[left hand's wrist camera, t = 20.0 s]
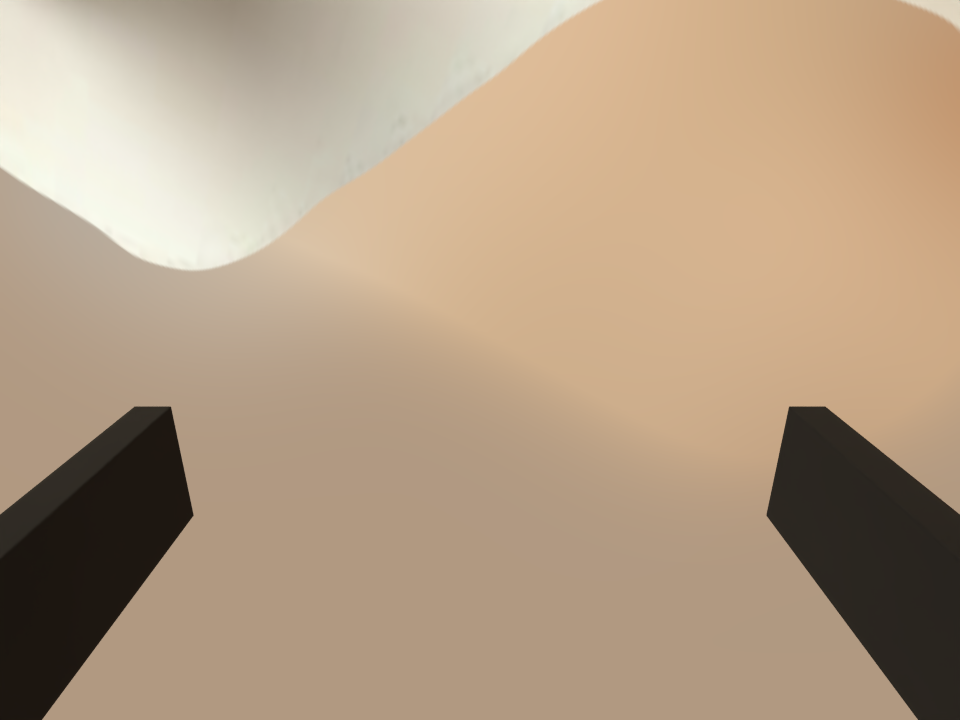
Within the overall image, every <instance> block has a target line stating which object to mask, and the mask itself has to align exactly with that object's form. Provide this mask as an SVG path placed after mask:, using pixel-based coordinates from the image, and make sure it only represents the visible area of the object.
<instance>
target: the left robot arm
mask: <svg viewBox="0 0 960 720" xmlns="http://www.w3.org/2000/svg"><path fill="white" fill-rule="evenodd" d="M192 517H193V511H192V506H191V501H190V496H189V492H188V487H187V482H186V477H185V472H184V467H183V463H182V458H181V453H180V448H179V443H178V439H177V434H176V429H175V425H174V420H173V415H172V410H171V407H134V408H133V409H131V410H130V411H129V412H127V413H126V414H125V415H124V416H122V417H121V418H120V419H119V420H117V421H116V422H115V423H114V424H113V425H111V426H110V427H109V428H108V429H106V430H105V431H104V432H103V433H101V434H100V435H99V436H98V437H96V438H95V439H94V440H93V441H91V442H90V443H89V444H88V445H86V446H85V447H84V448H83V449H81V450H80V451H79V452H78V453H76V454H75V455H74V456H73V457H71V458H70V459H69V460H68V461H66V462H65V463H64V464H63V465H61V466H60V467H59V468H58V469H57V470H55V471H54V472H53V473H51V474H50V475H49V476H48V477H46V478H45V479H44V480H43V481H42V482H40V483H39V484H38V485H37V486H35V487H34V488H33V489H32V490H30V491H29V492H28V493H27V494H25V495H24V496H23V497H22V498H20V499H19V500H18V501H17V502H15V503H14V504H13V505H12V506H10V507H9V508H8V509H7V510H5V511H4V512H3V513H2V514H0V720H42V719H43V718H44V716H45V715H46V713H47V712H48V711H49V709H50V708H51V707H52V705H53V704H54V703H55V701H56V700H57V699H58V697H59V696H60V695H61V693H62V692H63V691H64V689H65V688H66V686H67V685H68V684H69V682H70V681H71V680H72V678H73V677H74V676H75V674H76V673H77V672H78V670H79V669H80V668H81V666H82V665H83V664H84V662H85V661H86V660H87V658H88V657H89V656H90V654H91V653H92V651H93V650H94V649H95V647H96V646H97V645H98V643H99V642H100V641H101V639H102V638H103V637H104V635H105V634H106V633H107V631H108V630H109V629H110V627H111V626H112V625H113V623H114V622H115V621H116V619H117V618H118V616H119V615H120V614H121V612H122V611H123V610H124V608H125V607H126V606H127V604H128V603H129V602H130V600H131V599H132V598H133V596H134V595H135V594H136V592H137V591H138V590H139V588H140V587H141V585H142V584H143V583H144V581H145V580H146V579H147V577H148V576H149V575H150V573H151V572H152V571H153V569H154V568H155V567H156V565H157V564H158V563H159V561H160V560H161V559H162V557H163V556H164V554H165V553H166V552H167V550H168V549H169V548H170V546H171V545H172V544H173V542H174V541H175V540H176V538H177V537H178V536H179V534H180V533H181V532H182V530H183V529H184V528H185V526H186V525H187V523H188V522H189V521H190V519H191V518H192ZM767 517H768V518H769V519H770V521H771V522H772V524H773V525H774V526H775V528H776V529H777V530H778V532H779V533H780V534H781V536H782V537H783V538H784V540H785V541H786V542H787V544H788V545H789V546H790V548H791V549H792V550H793V552H794V553H795V555H796V556H797V557H798V559H799V560H800V561H801V563H802V564H803V565H804V567H805V568H806V569H807V571H808V572H809V573H810V575H811V576H812V577H813V579H814V580H815V581H816V583H817V584H818V585H819V587H820V588H821V589H822V591H823V592H824V594H825V595H826V596H827V598H828V599H829V600H830V602H831V603H832V604H833V606H834V607H835V608H836V610H837V611H838V612H839V614H840V615H841V616H842V618H843V619H844V621H845V622H846V623H847V625H848V626H849V627H850V629H851V630H852V631H853V633H854V634H855V635H856V637H857V638H858V639H859V641H860V642H861V643H862V645H863V646H864V647H865V649H866V650H867V651H868V653H869V654H870V655H871V657H872V658H873V660H874V661H875V662H876V664H877V665H878V666H879V668H880V669H881V670H882V672H883V673H884V674H885V676H886V677H887V678H888V680H889V681H890V682H891V684H892V685H893V687H894V688H895V689H896V691H897V692H898V693H899V695H900V696H901V697H902V699H903V700H904V701H905V703H906V704H907V705H908V707H909V708H910V709H911V711H912V712H913V713H914V715H915V716H916V718H917V719H918V720H960V514H958V513H957V512H956V511H955V510H953V509H952V508H951V507H950V506H948V505H947V504H946V503H945V502H943V501H942V500H941V499H940V498H938V497H937V496H936V495H935V494H933V493H932V492H931V491H930V490H928V489H927V488H926V487H925V486H923V485H922V484H921V483H920V482H919V481H917V480H916V479H915V478H914V477H912V476H911V475H910V474H908V473H907V472H906V471H905V470H904V469H902V468H901V467H900V466H899V465H897V464H896V463H895V462H894V461H892V460H891V459H890V458H889V457H887V456H886V455H885V454H884V453H882V452H881V451H880V450H879V449H877V448H876V447H875V446H874V445H872V444H871V443H870V442H869V441H867V440H866V439H865V438H864V437H862V436H861V435H860V434H859V433H857V432H856V431H855V430H854V429H852V428H851V427H850V426H849V425H847V424H846V423H845V422H844V421H843V420H841V419H840V418H839V417H837V416H836V415H835V414H834V413H832V412H831V411H830V410H829V409H828V408H826V407H789V410H788V415H787V420H786V424H785V429H784V434H783V439H782V443H781V448H780V453H779V458H778V463H777V468H776V472H775V477H774V482H773V487H772V491H771V496H770V501H769V506H768V510H767Z"/></svg>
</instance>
